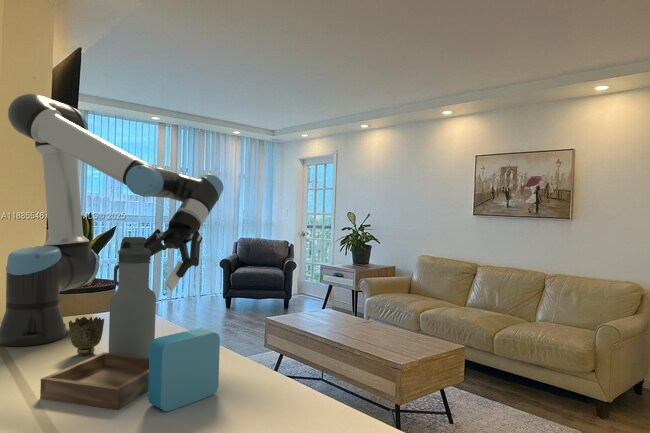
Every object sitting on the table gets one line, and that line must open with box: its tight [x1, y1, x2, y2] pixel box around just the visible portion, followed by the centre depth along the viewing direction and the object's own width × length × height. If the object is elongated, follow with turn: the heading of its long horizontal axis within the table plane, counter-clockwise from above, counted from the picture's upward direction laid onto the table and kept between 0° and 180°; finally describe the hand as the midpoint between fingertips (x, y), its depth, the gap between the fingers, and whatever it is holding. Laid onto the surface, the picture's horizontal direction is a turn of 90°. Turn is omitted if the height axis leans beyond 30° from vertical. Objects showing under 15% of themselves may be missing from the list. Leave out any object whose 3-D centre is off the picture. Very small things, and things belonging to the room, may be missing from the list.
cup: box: [68, 316, 105, 356], centre depth 105 cm, size 8×7×8 cm
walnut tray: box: [39, 352, 149, 411], centre depth 86 cm, size 16×16×4 cm
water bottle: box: [108, 236, 157, 358], centre depth 103 cm, size 10×10×28 cm
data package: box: [147, 327, 221, 413], centre depth 82 cm, size 12×4×12 cm, turn 141°
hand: (145, 284), depth 105 cm, fingers open, 13 cm apart
